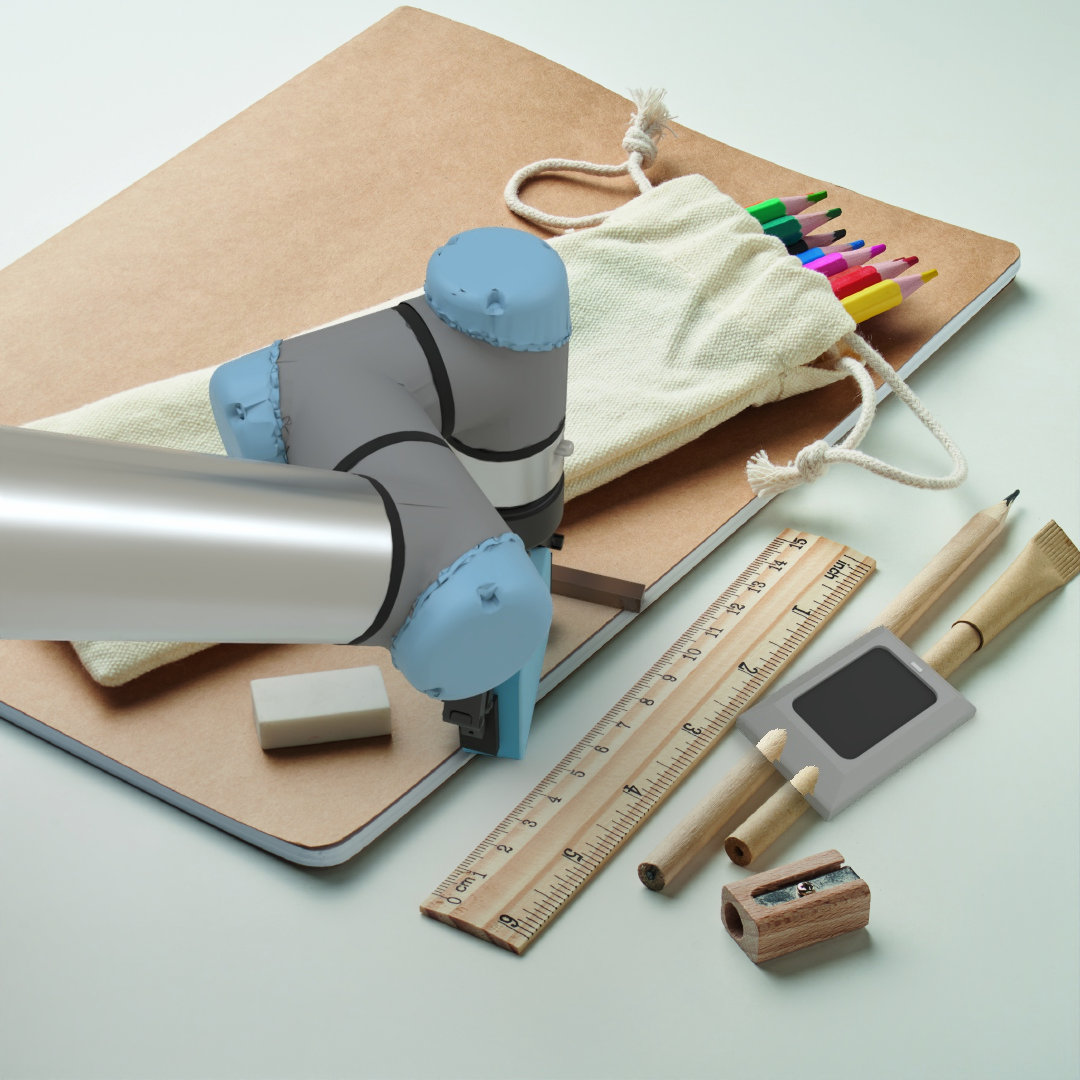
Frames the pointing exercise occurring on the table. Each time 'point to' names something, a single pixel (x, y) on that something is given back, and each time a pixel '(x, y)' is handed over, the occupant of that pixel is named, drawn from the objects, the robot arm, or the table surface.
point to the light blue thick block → (521, 685)
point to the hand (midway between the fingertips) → (507, 674)
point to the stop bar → (597, 588)
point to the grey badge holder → (858, 718)
